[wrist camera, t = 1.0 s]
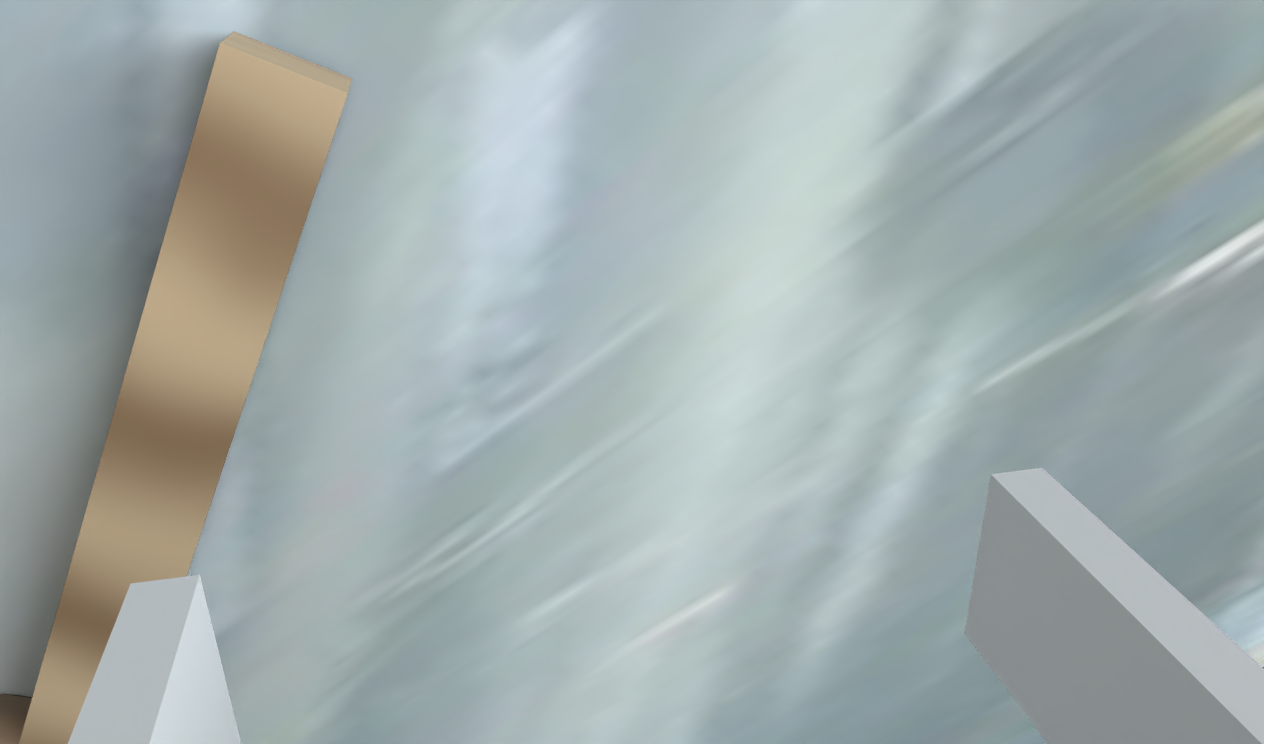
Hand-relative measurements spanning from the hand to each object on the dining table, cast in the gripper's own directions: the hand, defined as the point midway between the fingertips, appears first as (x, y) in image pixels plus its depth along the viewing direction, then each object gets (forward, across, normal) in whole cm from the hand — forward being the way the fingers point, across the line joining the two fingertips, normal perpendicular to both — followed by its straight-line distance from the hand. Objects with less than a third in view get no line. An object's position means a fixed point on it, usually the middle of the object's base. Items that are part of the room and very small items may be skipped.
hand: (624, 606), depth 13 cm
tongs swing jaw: (+18, +10, +5) cm, 21 cm away
